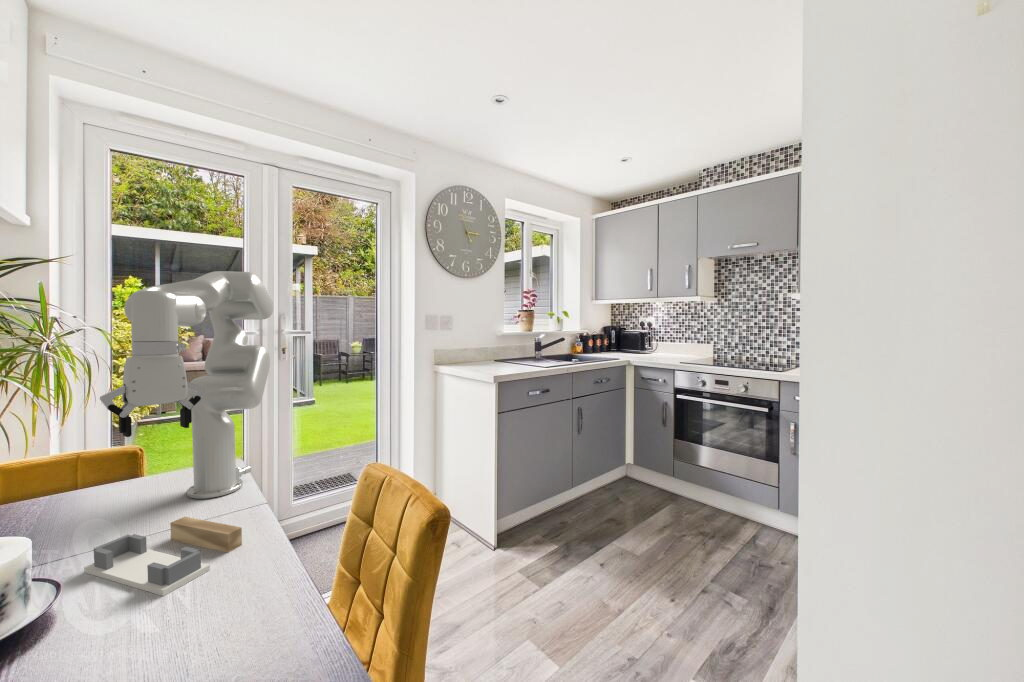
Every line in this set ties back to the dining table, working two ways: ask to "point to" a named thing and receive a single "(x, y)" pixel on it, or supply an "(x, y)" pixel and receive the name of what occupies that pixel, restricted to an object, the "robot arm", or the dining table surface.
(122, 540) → the mounting board
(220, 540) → the slat
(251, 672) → the dining table surface
